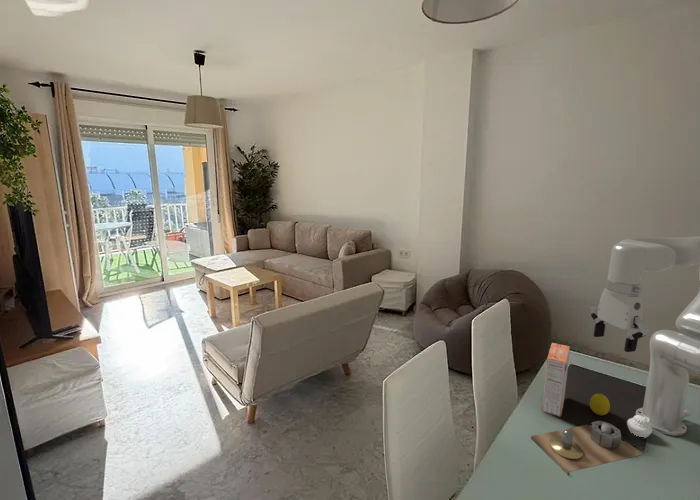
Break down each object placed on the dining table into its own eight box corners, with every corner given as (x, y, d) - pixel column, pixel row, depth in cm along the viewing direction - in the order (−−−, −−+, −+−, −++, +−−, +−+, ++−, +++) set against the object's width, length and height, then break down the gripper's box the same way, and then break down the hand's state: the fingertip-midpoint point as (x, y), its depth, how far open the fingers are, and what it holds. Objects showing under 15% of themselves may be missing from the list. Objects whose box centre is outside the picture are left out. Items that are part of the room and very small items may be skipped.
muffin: (656, 443, 106) (659, 423, 105) (634, 443, 107) (638, 422, 105) (640, 429, 112) (643, 410, 111) (620, 428, 113) (623, 409, 111)
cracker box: (546, 393, 132) (551, 341, 128) (564, 398, 129) (571, 345, 124) (540, 413, 121) (546, 357, 117) (560, 419, 117) (567, 362, 113)
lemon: (611, 421, 116) (614, 399, 115) (592, 419, 117) (595, 398, 116) (603, 410, 122) (606, 390, 120) (585, 409, 123) (588, 388, 121)
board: (599, 424, 115) (601, 408, 114) (643, 457, 101) (646, 438, 100) (531, 438, 109) (532, 421, 108) (567, 474, 96) (570, 455, 94)
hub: (566, 436, 108) (568, 419, 107) (590, 457, 100) (592, 438, 99) (543, 441, 107) (544, 423, 105) (565, 462, 99) (567, 443, 97)
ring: (603, 430, 111) (604, 419, 110) (624, 446, 104) (626, 435, 103) (584, 434, 109) (586, 423, 108) (605, 451, 102) (607, 439, 102)
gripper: (665, 296, 92) (654, 356, 95) (605, 278, 109) (597, 330, 112) (643, 297, 90) (632, 359, 94) (585, 279, 107) (577, 332, 110)
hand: (613, 343), depth 103 cm, fingers open, 9 cm apart
